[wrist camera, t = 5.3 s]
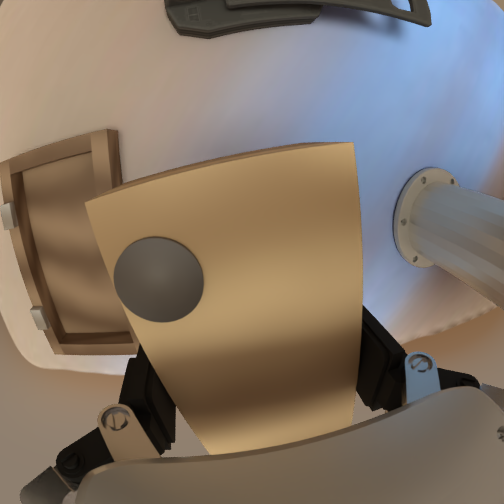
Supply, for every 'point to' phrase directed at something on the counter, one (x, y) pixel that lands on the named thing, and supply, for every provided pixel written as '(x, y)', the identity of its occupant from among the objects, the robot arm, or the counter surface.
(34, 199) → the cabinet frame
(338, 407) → the tan rectangular block
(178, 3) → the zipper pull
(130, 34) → the counter surface
